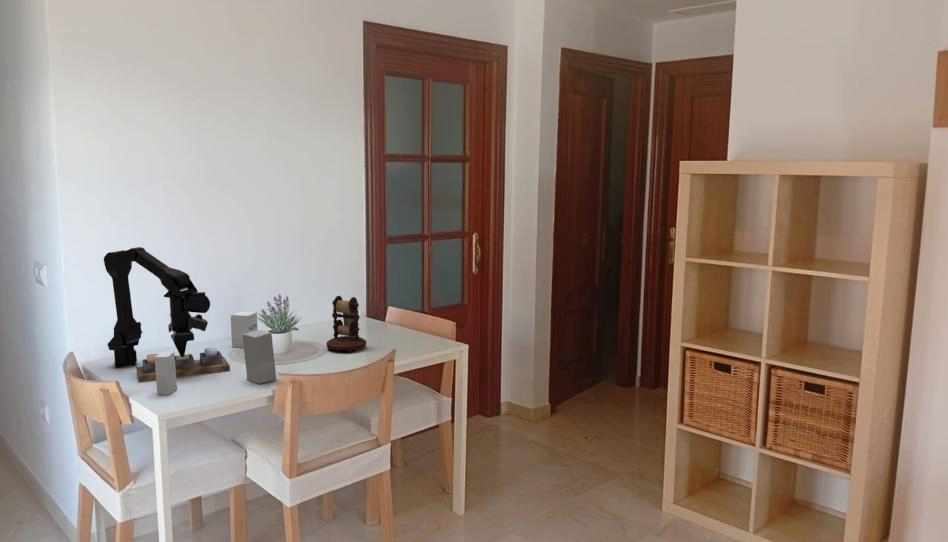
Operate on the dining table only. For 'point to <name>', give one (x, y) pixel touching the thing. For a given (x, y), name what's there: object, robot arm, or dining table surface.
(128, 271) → the robot arm
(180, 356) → the sage button
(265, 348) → the skincare box
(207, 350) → the slate button
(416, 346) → the dining table surface
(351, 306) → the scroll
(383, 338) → the dining table surface
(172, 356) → the skincare box
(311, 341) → the dining table surface
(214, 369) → the button panel
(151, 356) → the terracotta button
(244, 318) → the supplement box
